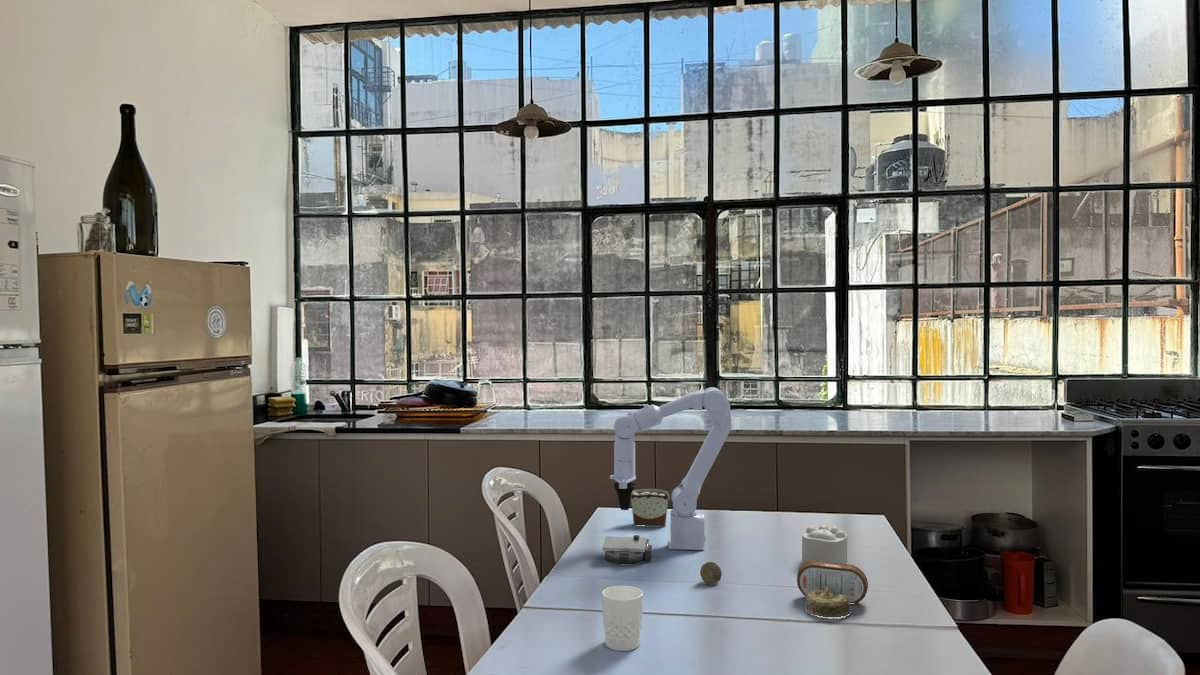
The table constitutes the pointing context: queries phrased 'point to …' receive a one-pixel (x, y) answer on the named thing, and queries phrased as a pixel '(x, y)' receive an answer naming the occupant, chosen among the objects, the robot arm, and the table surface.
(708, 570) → the lime
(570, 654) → the table surface
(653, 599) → the table surface
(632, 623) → the white cup
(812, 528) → the lumpy-topped squat cylinder
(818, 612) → the cake
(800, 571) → the tin
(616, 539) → the lid
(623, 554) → the pot
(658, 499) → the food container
